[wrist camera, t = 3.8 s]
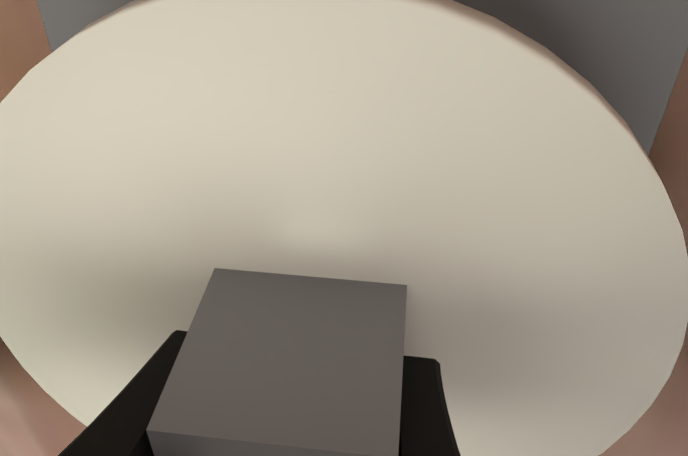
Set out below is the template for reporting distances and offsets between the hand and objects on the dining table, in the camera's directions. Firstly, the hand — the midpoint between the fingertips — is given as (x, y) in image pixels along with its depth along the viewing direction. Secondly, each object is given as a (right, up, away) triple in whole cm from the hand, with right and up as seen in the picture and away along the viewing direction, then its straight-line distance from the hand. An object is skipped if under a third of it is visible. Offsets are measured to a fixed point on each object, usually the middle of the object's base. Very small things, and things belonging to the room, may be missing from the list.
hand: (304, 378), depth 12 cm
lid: (0, +1, +1) cm, 2 cm away
